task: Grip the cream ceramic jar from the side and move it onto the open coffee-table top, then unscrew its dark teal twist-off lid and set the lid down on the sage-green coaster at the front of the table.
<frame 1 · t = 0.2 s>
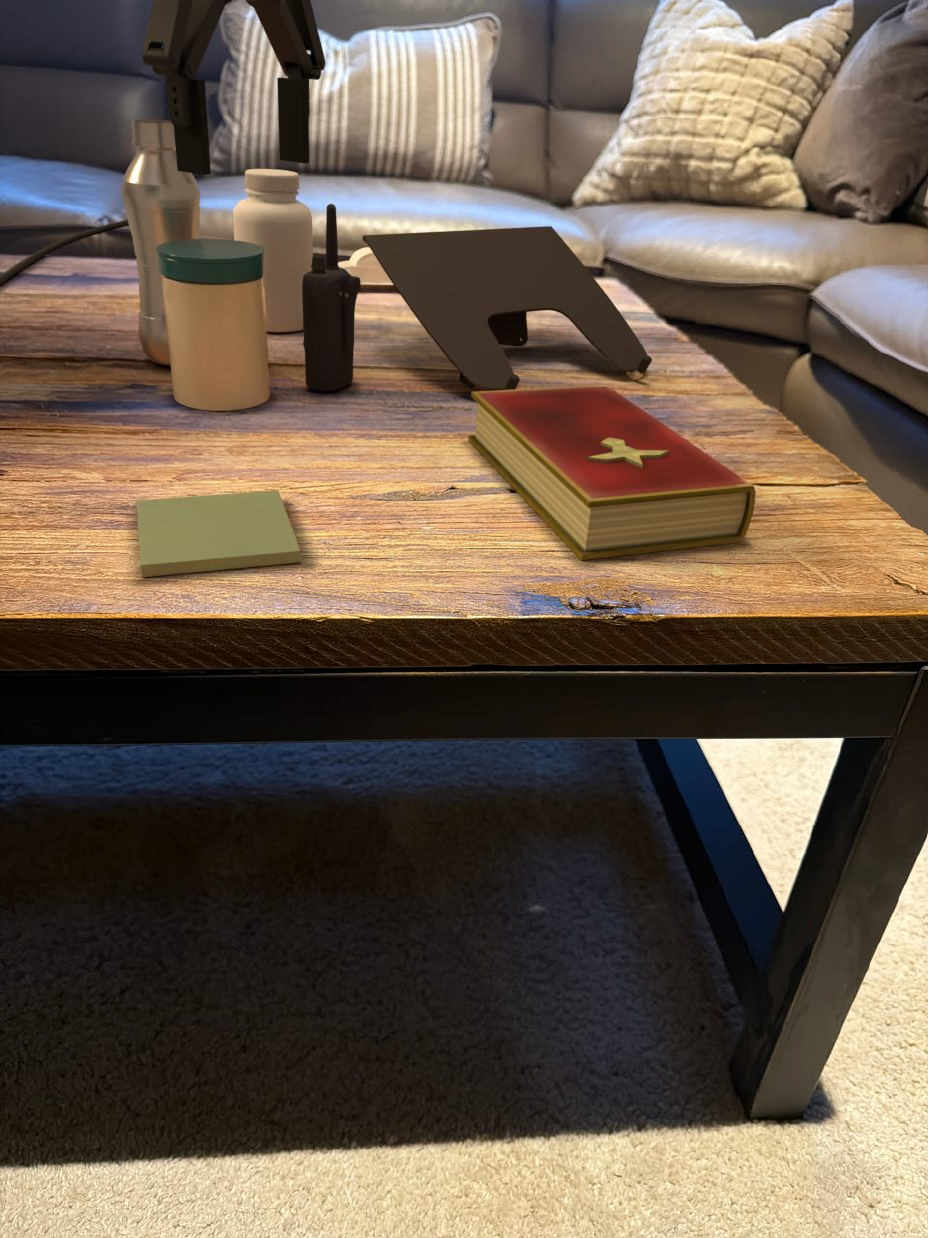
hand: (247, 167, 81), 17 cm above the table, tool pointing down, fingers open, 13 cm apart
jar lid: (211, 252, 75), point 12 cm above the table, screwed on, not yet turned
two-way radio: (335, 389, 85), on the table
jar: (222, 395, 81), on the table
laptop tray: (514, 365, 95), on the table
hardcover book: (593, 488, 69), on the table
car: (369, 289, 120), on the table
coaster: (216, 536, 59), on the table
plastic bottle: (178, 364, 89), on the table
pill bottle: (277, 326, 102), on the table
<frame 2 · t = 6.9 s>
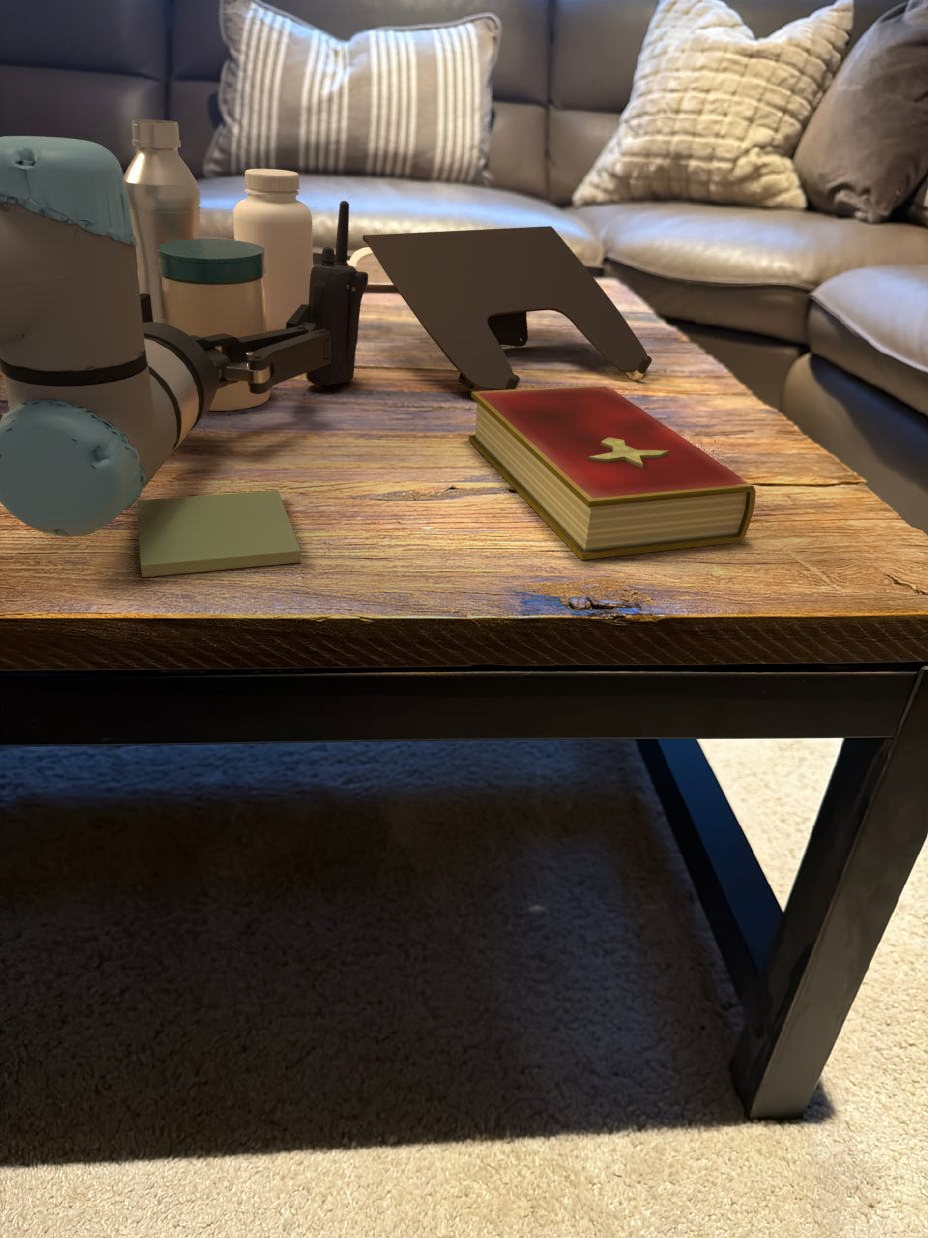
hand: (227, 315, 81), 6 cm above the table, tool horizontal, fingers open, 13 cm apart
two-way radio: (335, 385, 85), on the table, touching gripper
everything else where it was.
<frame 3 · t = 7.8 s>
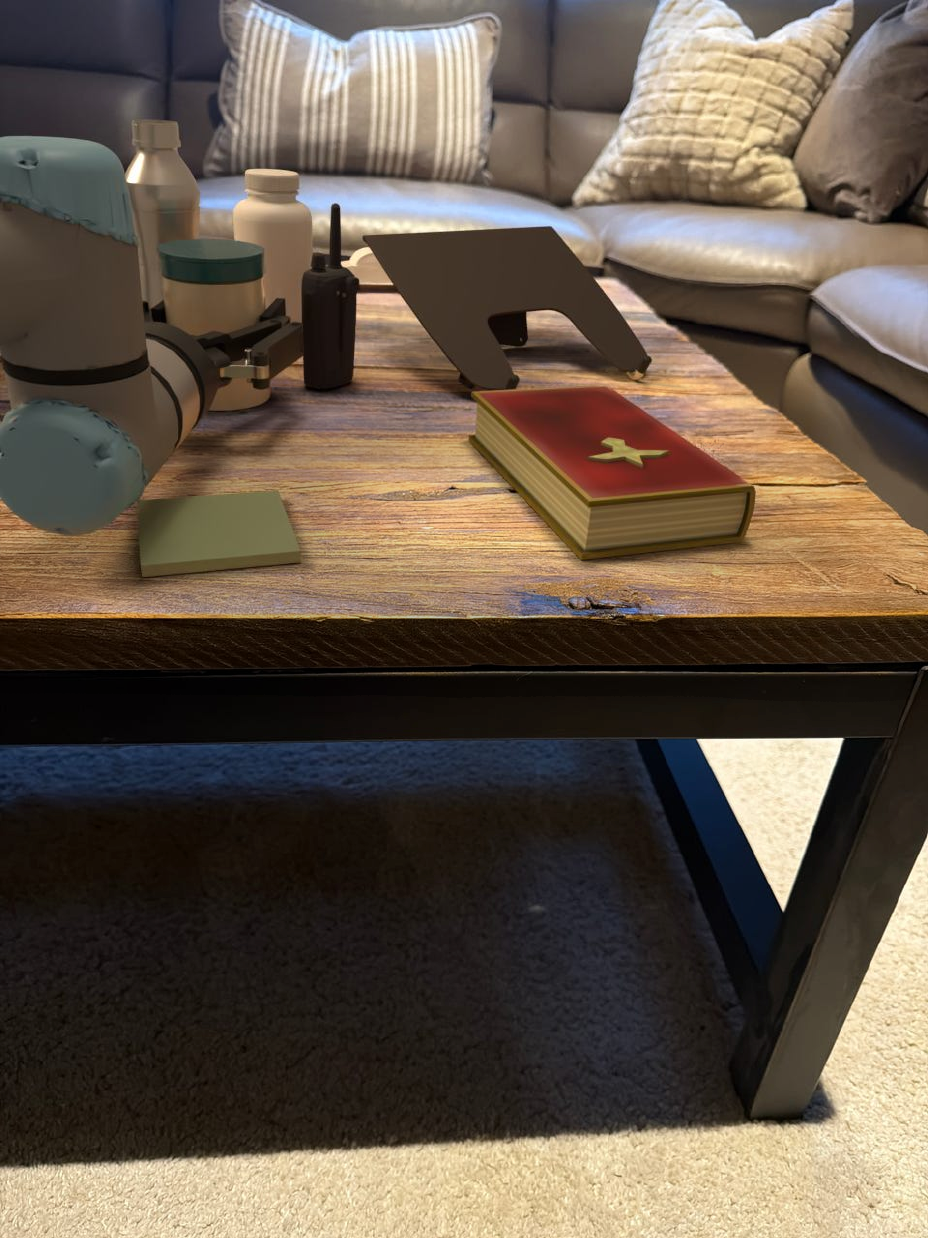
hand: (231, 310, 82), 6 cm above the table, tool horizontal, fingers closed on jar, 8 cm apart
two-way radio: (333, 387, 86), on the table
jar: (222, 395, 81), on the table, touching gripper
everything else where it was.
when the fingers open (6 cm above the table, at t = 16.2 s): jar stays where it is, point 1 cm above the table.
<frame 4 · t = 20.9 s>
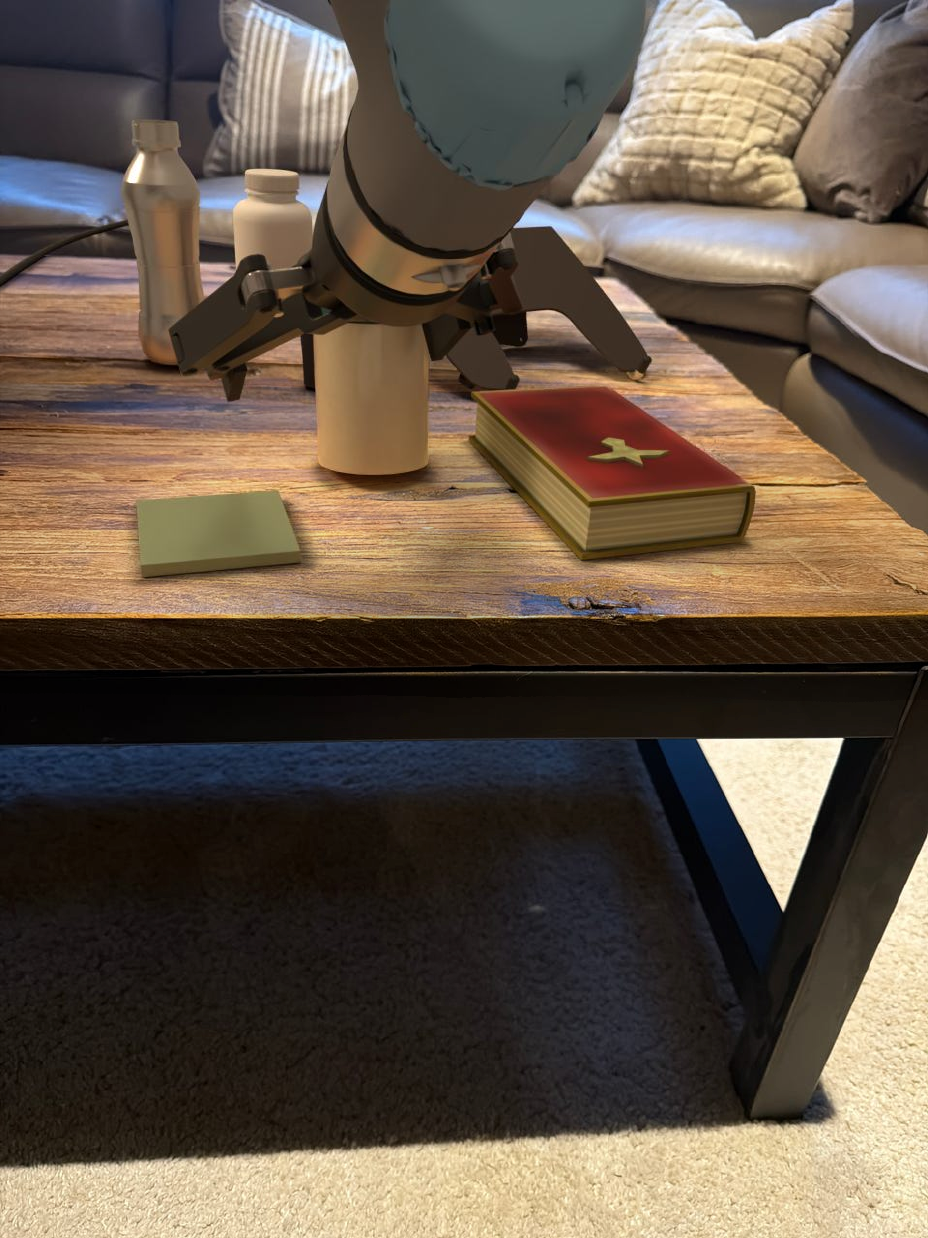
hand: (332, 360, 61), 9 cm above the table, tool tilted 55°, fingers open, 13 cm apart
jar lid: (371, 293, 65), point 12 cm above the table, tilted 8°, screwed on, not yet turned
jar: (373, 461, 69), point 1 cm above the table, tilted 8°, touching gripper
everything else where it was.
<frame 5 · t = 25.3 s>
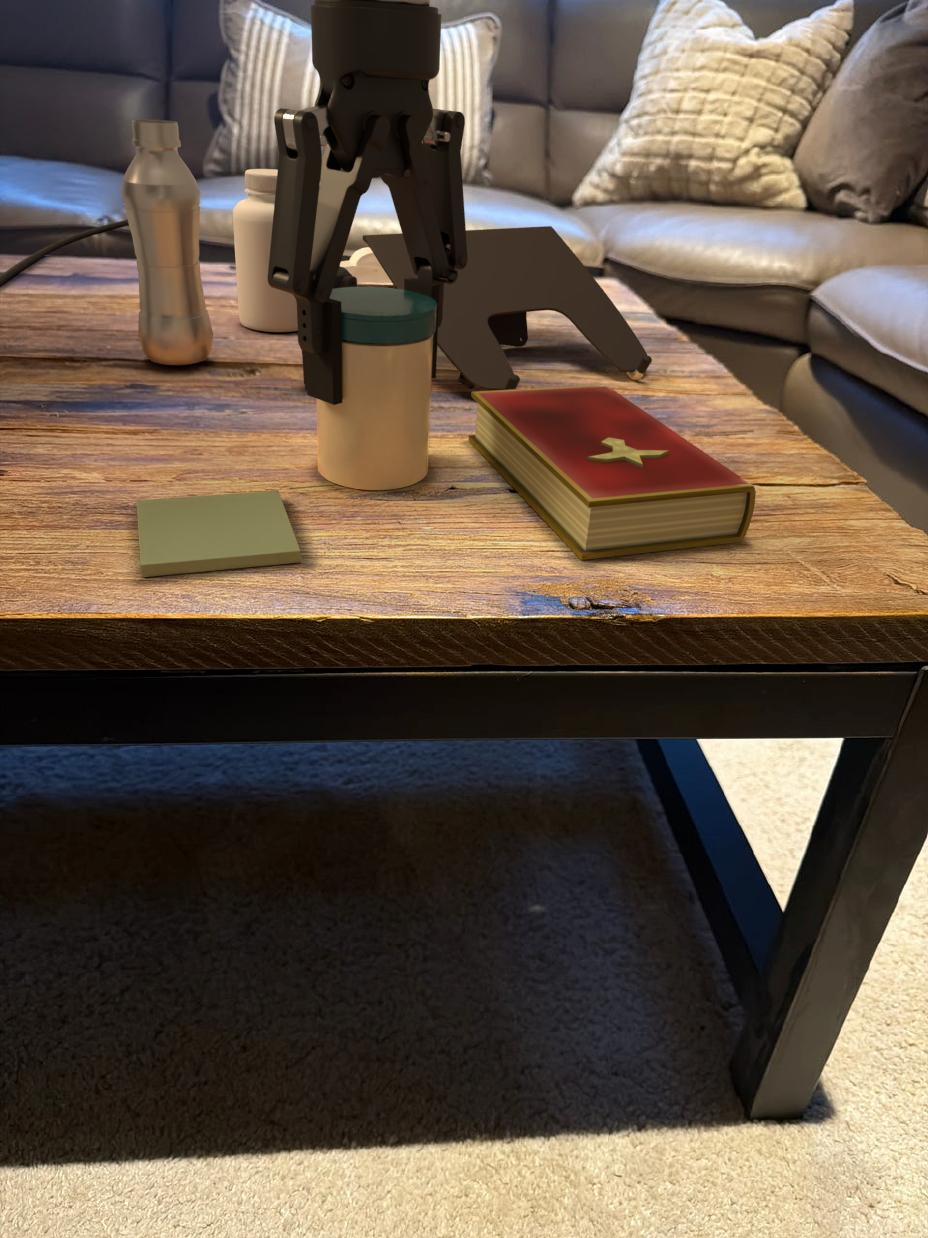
hand: (373, 385, 66), 6 cm above the table, tool pointing down, fingers closed on jar lid, 8 cm apart
jar lid: (374, 305, 63), point 12 cm above the table, screwed on, not yet turned, touching gripper
jar: (373, 468, 69), on the table
everything else where it was.
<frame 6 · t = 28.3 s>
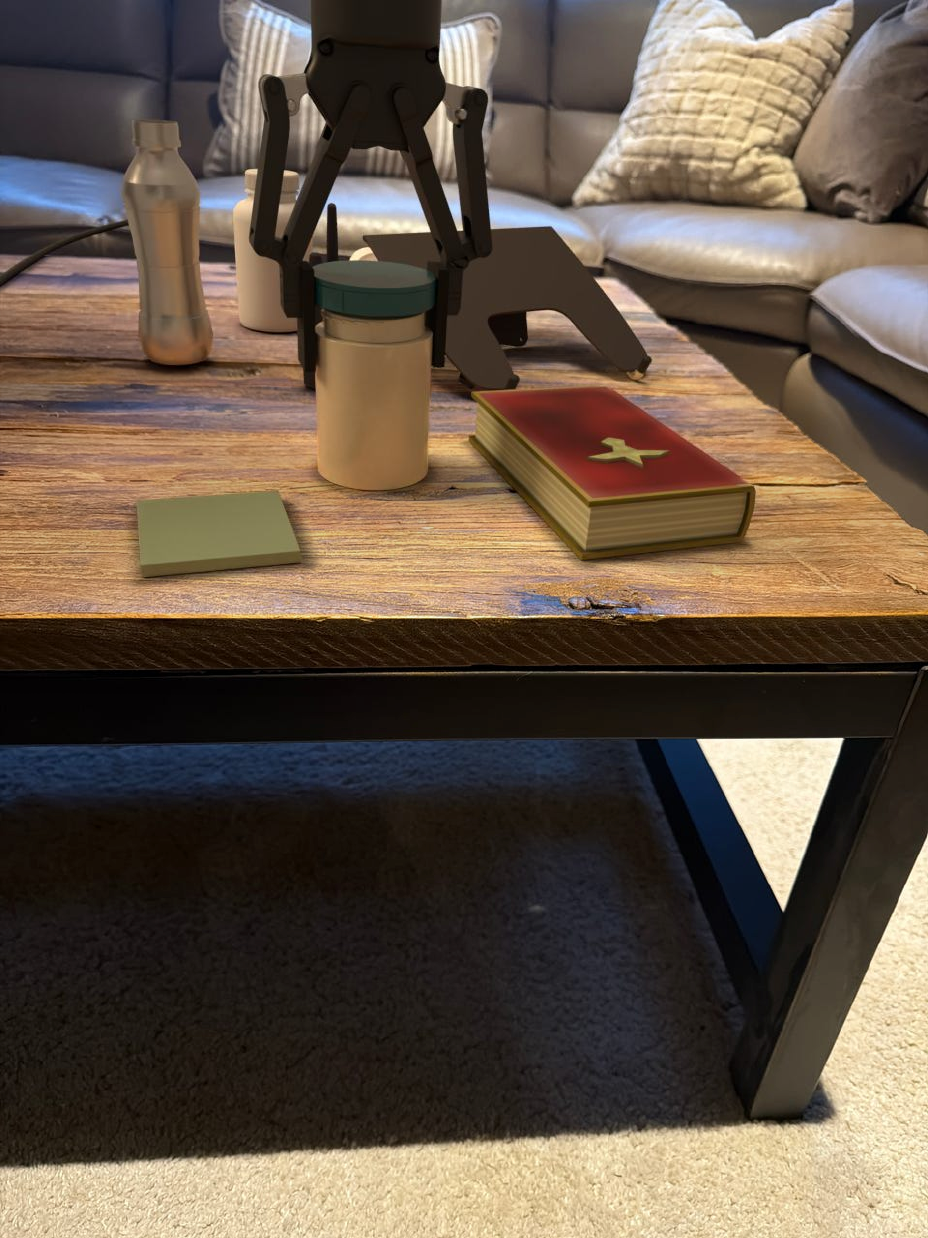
hand: (371, 363, 66), 8 cm above the table, tool pointing down, fingers closed on jar lid, 8 cm apart
jar lid: (372, 278, 63), point 13 cm above the table, off its thread, touching gripper
jar: (373, 468, 69), on the table, touching gripper
everything else where it was.
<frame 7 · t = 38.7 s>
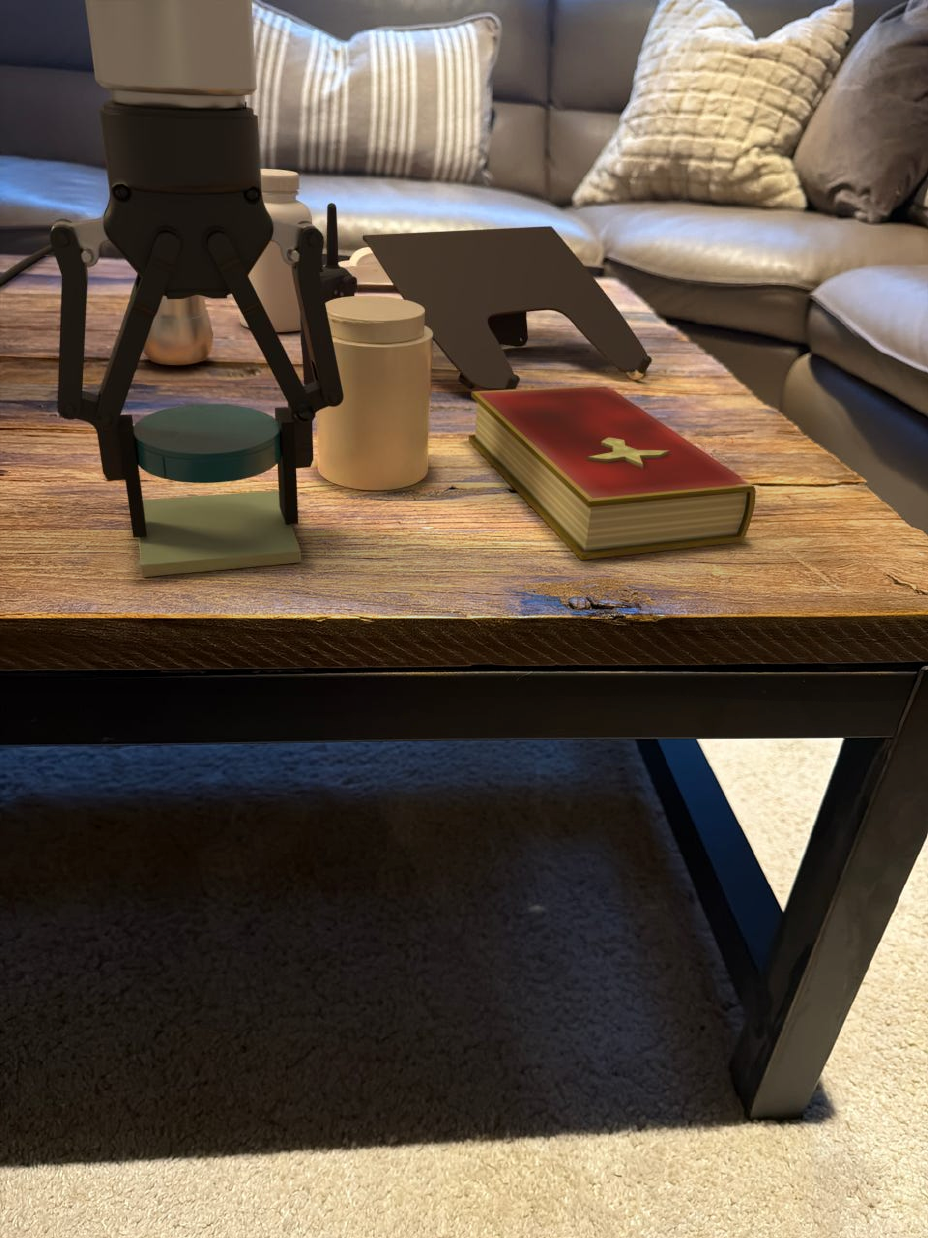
hand: (215, 520, 58), 1 cm above the table, tool pointing down, fingers closed on jar lid, 8 cm apart
jar lid: (208, 432, 55), point 7 cm above the table, off its thread, touching gripper
jar: (373, 468, 69), on the table
everything else where it was.
when the fingers open (2 cm above the table, at t = 44.1 s): jar lid drops 6 cm, resting on coaster.
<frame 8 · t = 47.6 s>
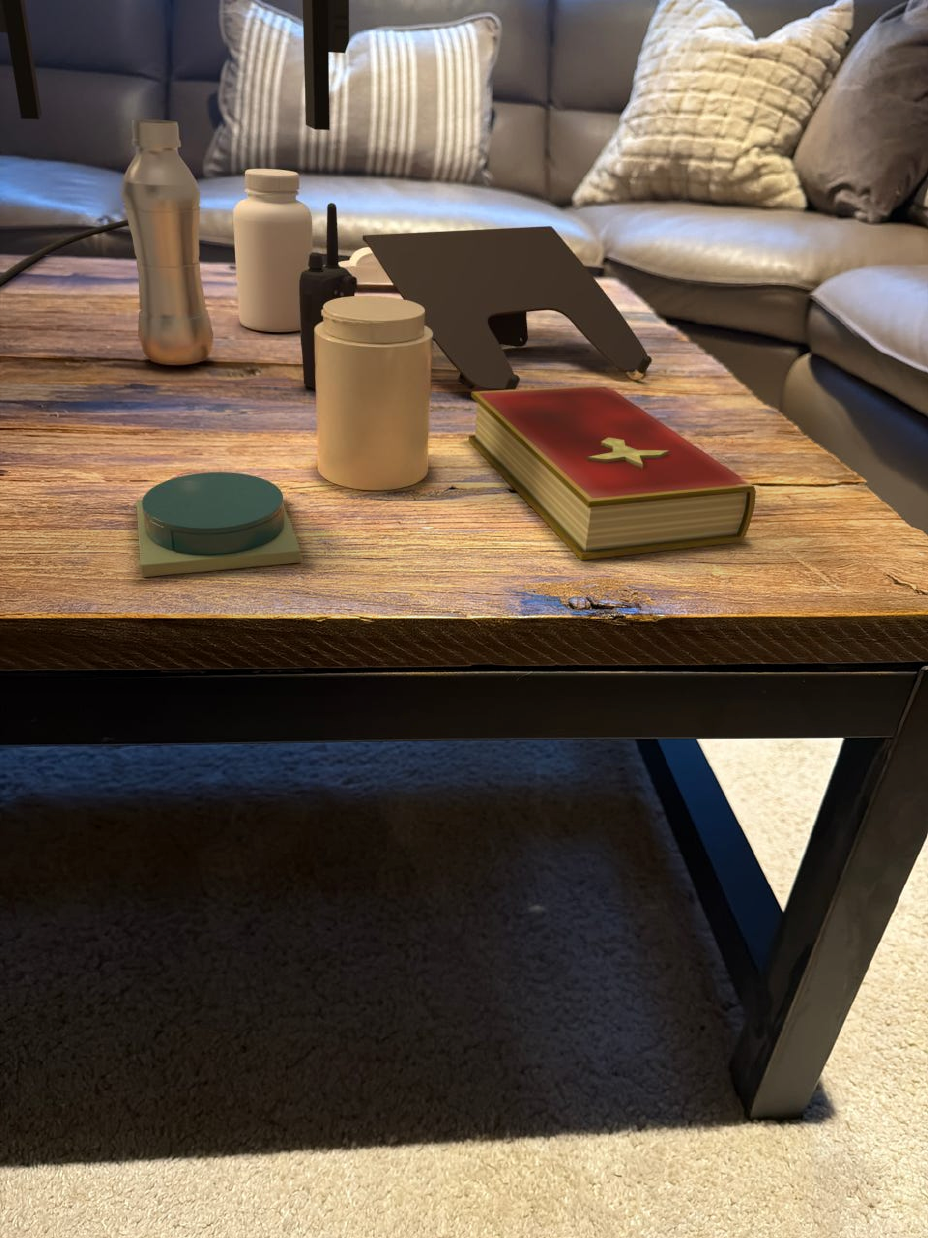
hand: (180, 123, 47), 23 cm above the table, tool pointing down, fingers open, 13 cm apart
jar lid: (214, 503, 58), point 2 cm above the table, off its thread, touching coaster
everything else where it was.
at the end: jar inside the target area (0.1 cm from its centre), on the table; jar lid inside the target area on the coaster (0.0 cm from its centre), point 2.2 cm above the coaster's base; the gripper is holding nothing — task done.
